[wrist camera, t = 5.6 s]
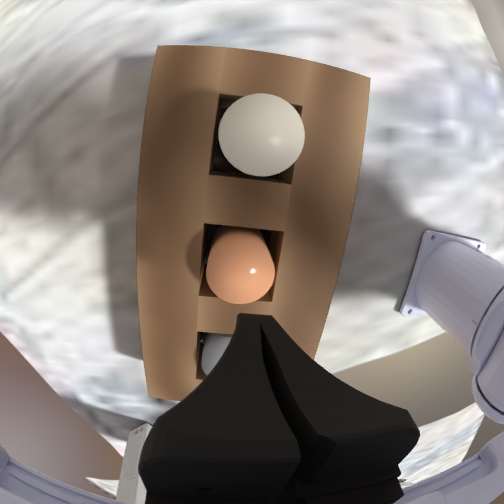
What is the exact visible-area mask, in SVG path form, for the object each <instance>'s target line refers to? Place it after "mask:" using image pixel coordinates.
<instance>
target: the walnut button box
mask: <svg viewBox="0 0 504 504" xmlns="http://www.w3.org/2000/svg"><path fill="white" fill-rule="evenodd" d="M370 79H371V78H369V77H366V76H363V75H360V74H357V73H354V72H350V71H347V70H344V69H340V68H337V67H333V66H329V65H326V64H322V63H318V62H314V61H309V60H305V59H300V58H295V57H290V56H285V55H280V54H274V53H268V52H261V51H254V50H246V49H237V48H226V47H213V46H189V45H165V46H157V50H156V55H155V60H154V65H153V70H152V75H151V80H150V86H149V92H148V98H147V104H146V111H145V118H144V126H143V134H142V143H141V153H140V165H139V178H138V195H137V225H136V261H137V291H138V308H139V322H140V333H141V343H142V352H143V361H144V369H145V376H146V383H147V389H148V396H149V397H155V398H161V399H168V400H176V401H182V400H183V399H184V398H185V397H186V396H188V395H189V394H190V393H191V392H192V391H193V390H194V389H195V388H196V387H197V386H198V385H199V384H200V383H201V382H202V381H203V380H204V379H205V378H206V376H207V375H206V374H205V373H204V371H203V369H202V354H203V347H202V346H200V332H209V333H220V334H233V333H234V331H235V328H236V320H237V315H238V314H240V313H248V314H261V315H272V316H273V317H274V318H275V319H276V321H277V322H278V323H279V324H280V326H281V327H282V328H283V329H284V330H285V331H286V333H287V334H288V335H289V336H290V337H291V338H292V339H293V340H294V342H295V343H296V344H297V345H298V346H299V347H300V348H301V349H302V350H303V351H304V352H305V353H306V354H307V355H309V356H310V357H311V358H312V359H313V360H314V357H315V354H316V351H317V348H318V345H319V342H320V339H321V335H322V332H323V329H324V325H325V322H326V318H327V315H328V311H329V308H330V304H331V301H332V297H333V293H334V290H335V286H336V282H337V278H338V274H339V270H340V266H341V262H342V258H343V253H344V249H345V245H346V240H347V235H348V231H349V226H350V221H351V216H352V211H353V206H354V201H355V195H356V190H357V184H358V178H359V172H360V166H361V159H362V152H363V145H364V138H365V130H366V121H367V112H368V102H369V91H370ZM258 93H264V94H271V95H275V96H277V97H280V98H282V99H284V100H285V101H287V102H288V103H289V104H290V105H292V106H293V107H294V109H295V110H296V111H297V112H298V114H299V116H300V118H301V120H302V122H303V125H304V131H305V140H304V145H303V149H302V151H301V153H300V155H299V157H298V158H297V160H296V161H295V162H294V163H293V164H292V165H291V166H290V167H289V168H287V169H286V170H284V171H282V172H280V177H279V178H272V177H264V176H254V175H248V174H240V173H231V172H221V171H213V167H214V159H215V151H216V143H217V135H218V127H219V120H220V113H221V106H225V107H230V106H231V105H232V104H233V103H234V102H235V101H237V100H239V99H240V98H242V97H245V96H248V95H251V94H258ZM208 224H218V225H228V226H238V227H247V228H257V229H266V230H272V231H271V237H270V244H269V253H270V256H271V258H272V261H273V264H274V268H275V276H274V281H273V283H272V286H271V287H270V289H269V290H268V292H267V293H266V294H265V295H264V296H262V297H261V298H259V299H258V300H256V301H254V302H251V303H246V304H233V303H229V302H226V301H224V300H222V299H221V298H219V297H218V296H217V295H215V294H214V292H213V291H212V290H211V288H210V287H209V285H208V282H207V278H206V270H204V263H205V250H206V238H207V226H208Z"/></svg>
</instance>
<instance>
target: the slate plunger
mask: <svg viewBox="0 0 504 504" xmlns="http://www.w3.org/2000/svg"><path fill="white" fill-rule="evenodd" d="M232 335H233V334H220V333H209V332H205V336H204V345H203V354H202V369H203V371H204V373H205V374H206V375H208V374H209V373H210V372H211V370H212V369H213V368H214V366H215V365H216V364H217V362H218V361H219V359H220V358H221V356H222V355H223V353H224V351H225V349H226V348H227V346H228V344H229V342H230V340H231V338H232Z"/></svg>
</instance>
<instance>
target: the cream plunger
mask: <svg viewBox="0 0 504 504" xmlns="http://www.w3.org/2000/svg"><path fill="white" fill-rule="evenodd" d="M218 135H219V143H220V147H221V149H222V152H223V154H224V156H225V157H226V158H227V160H228V161H229V162H230V163H231V164H232V165H233V166H234V167H235V168H237V169H239V170H240V171H242V172H244V173H247V174H250V175H254V176H271V175H275V174H278V173H280V172H282V171H284V170H286V169H287V168H289V167H290V166H291V165H292V164H293V163H294V162H295V161H296V160H297V158H298V157H299V155H300V153H301V151H302V149H303V145H304V140H305V131H304V125H303V122H302V120H301V118H300V116H299V114H298V112H297V111H296V110H295V109H294V107H293V106H292V105H290V104H289V103H288V102H287V101H285V100H284V99H282V98H280V97H277V96H275V95H271V94H264V93H258V94H251V95H248V96H245V97H242V98H240V99H239V100H237V101H235V102H234V103H233V104H232V105H231V106H230V107H229V108H228V109H227V110H226V112H225V113H224V115H223V117H222V119H221V122H220V126H219V134H218Z"/></svg>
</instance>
